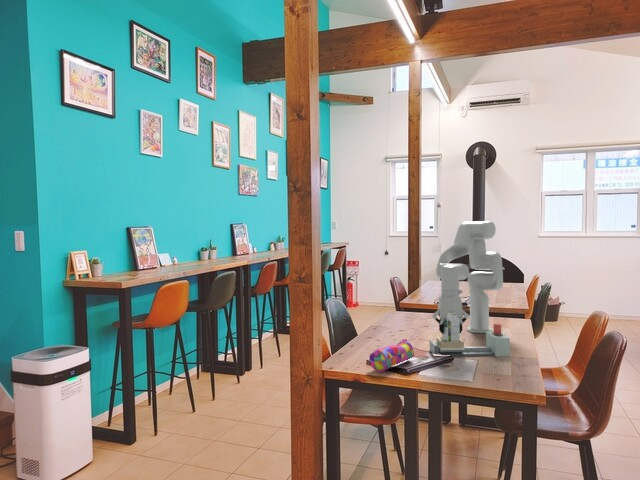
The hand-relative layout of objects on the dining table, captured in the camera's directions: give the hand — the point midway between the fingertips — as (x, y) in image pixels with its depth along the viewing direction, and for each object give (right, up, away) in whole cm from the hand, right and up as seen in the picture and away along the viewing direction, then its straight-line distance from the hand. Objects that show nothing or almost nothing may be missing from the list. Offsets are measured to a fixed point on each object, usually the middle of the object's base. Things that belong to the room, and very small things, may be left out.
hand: (450, 332), depth 202 cm
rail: (+5, -9, 0) cm, 10 cm away
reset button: (+21, -4, -1) cm, 21 cm away
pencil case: (-28, -11, -15) cm, 34 cm away
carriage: (0, -8, 0) cm, 8 cm away
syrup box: (0, -5, 0) cm, 5 cm away
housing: (+21, -9, 0) cm, 23 cm away
